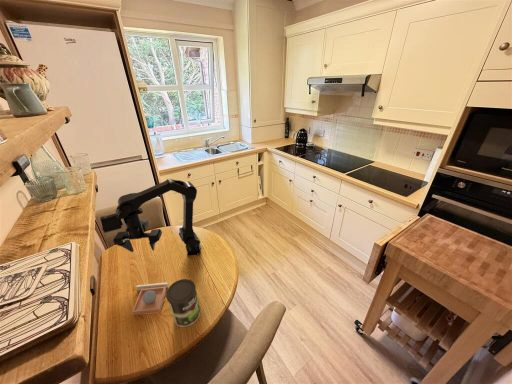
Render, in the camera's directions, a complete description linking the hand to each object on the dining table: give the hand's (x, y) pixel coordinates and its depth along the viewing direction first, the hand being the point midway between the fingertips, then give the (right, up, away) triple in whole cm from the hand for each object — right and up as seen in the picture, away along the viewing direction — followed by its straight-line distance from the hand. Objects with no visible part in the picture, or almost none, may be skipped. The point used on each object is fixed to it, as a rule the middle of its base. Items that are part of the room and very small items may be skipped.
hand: (143, 250), depth 98 cm
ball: (+8, -18, -10) cm, 22 cm away
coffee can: (+25, -21, -14) cm, 36 cm away
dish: (+8, -19, -9) cm, 22 cm away
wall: (+6, -16, -4) cm, 17 cm away
